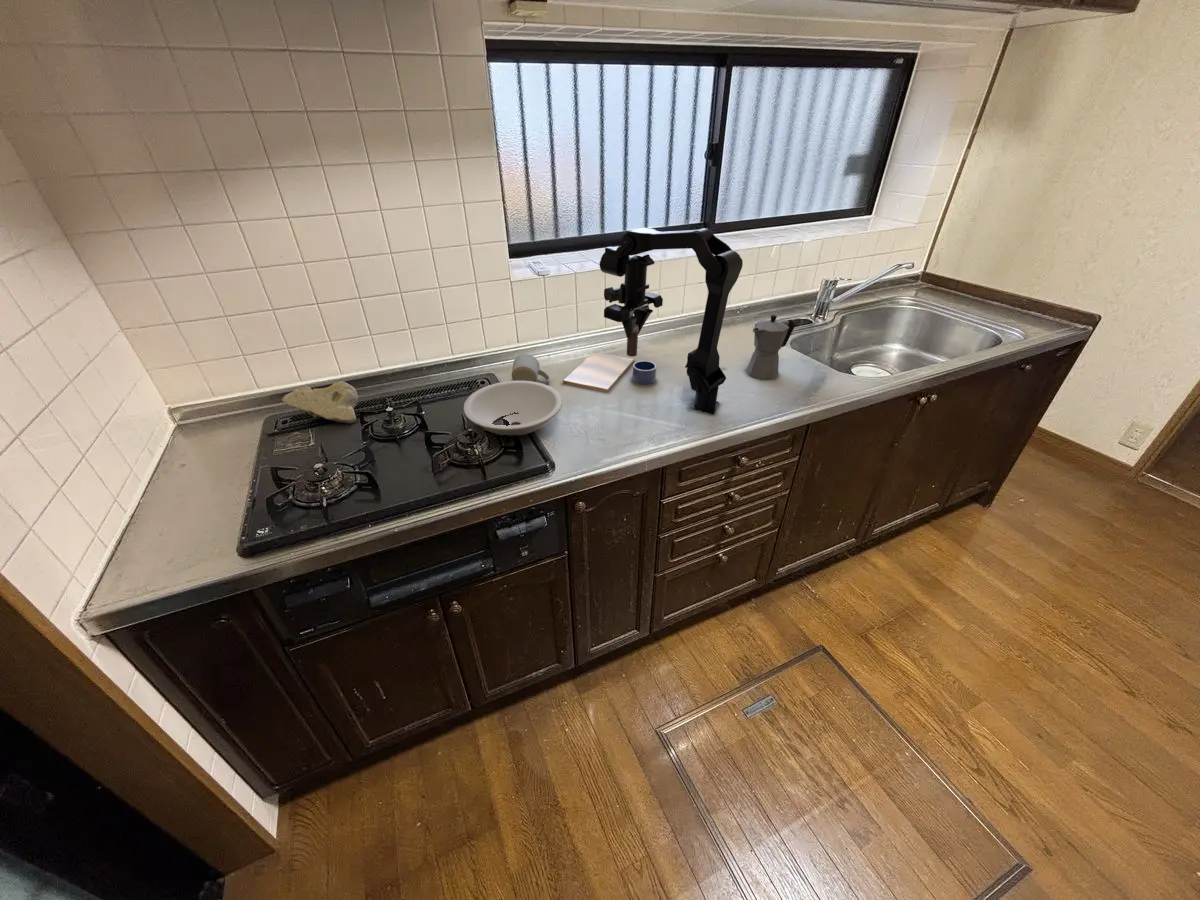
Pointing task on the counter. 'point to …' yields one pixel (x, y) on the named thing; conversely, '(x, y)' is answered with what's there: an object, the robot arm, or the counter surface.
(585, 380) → the bamboo board
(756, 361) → the coffeepot
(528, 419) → the soup bowl
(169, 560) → the counter surface
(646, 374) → the holder cup
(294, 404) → the beige irregular pointed piece
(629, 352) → the pepper mill
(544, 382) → the ceramic mug
